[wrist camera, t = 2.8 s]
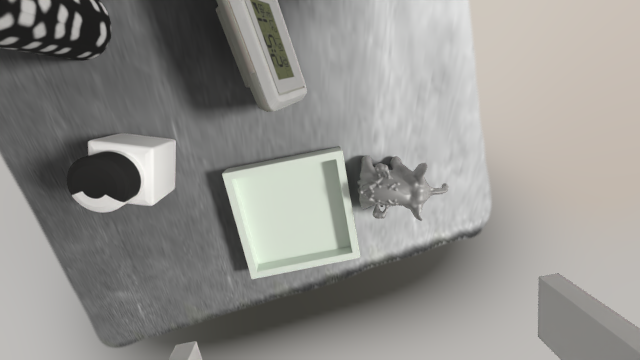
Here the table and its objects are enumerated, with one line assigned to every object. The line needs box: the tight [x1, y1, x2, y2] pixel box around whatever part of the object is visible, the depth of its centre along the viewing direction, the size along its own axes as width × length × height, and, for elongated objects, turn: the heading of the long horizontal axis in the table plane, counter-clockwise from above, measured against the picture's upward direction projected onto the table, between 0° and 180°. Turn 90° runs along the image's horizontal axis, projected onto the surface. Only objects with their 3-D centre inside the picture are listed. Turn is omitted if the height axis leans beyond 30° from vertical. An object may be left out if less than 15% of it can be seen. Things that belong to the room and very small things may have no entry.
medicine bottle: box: [67, 133, 176, 212], centre depth 37 cm, size 7×7×12 cm
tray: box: [222, 147, 360, 279], centre depth 44 cm, size 16×16×3 cm
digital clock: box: [216, 0, 307, 112], centre depth 35 cm, size 16×9×11 cm, turn 7°
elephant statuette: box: [357, 156, 448, 221], centre depth 42 cm, size 9×12×8 cm
